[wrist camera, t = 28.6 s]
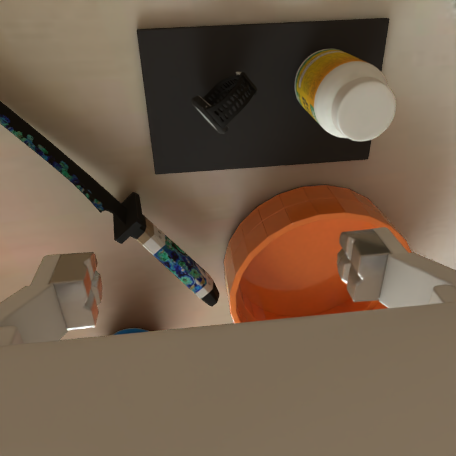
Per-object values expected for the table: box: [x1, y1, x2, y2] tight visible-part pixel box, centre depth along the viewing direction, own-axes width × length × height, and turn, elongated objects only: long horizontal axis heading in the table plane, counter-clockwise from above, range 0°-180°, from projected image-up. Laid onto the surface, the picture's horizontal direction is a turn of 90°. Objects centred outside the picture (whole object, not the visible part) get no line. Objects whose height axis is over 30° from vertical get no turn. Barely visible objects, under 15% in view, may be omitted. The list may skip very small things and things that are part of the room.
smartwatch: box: [192, 72, 257, 134], centre depth 33 cm, size 4×5×5 cm
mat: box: [137, 18, 389, 174], centre depth 36 cm, size 20×12×1 cm, turn 92°
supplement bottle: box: [295, 49, 396, 141], centre depth 32 cm, size 5×5×10 cm
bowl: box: [224, 185, 411, 323], centre depth 44 cm, size 18×18×6 cm
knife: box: [0, 101, 219, 306], centre depth 37 cm, size 31×3×4 cm, turn 39°
